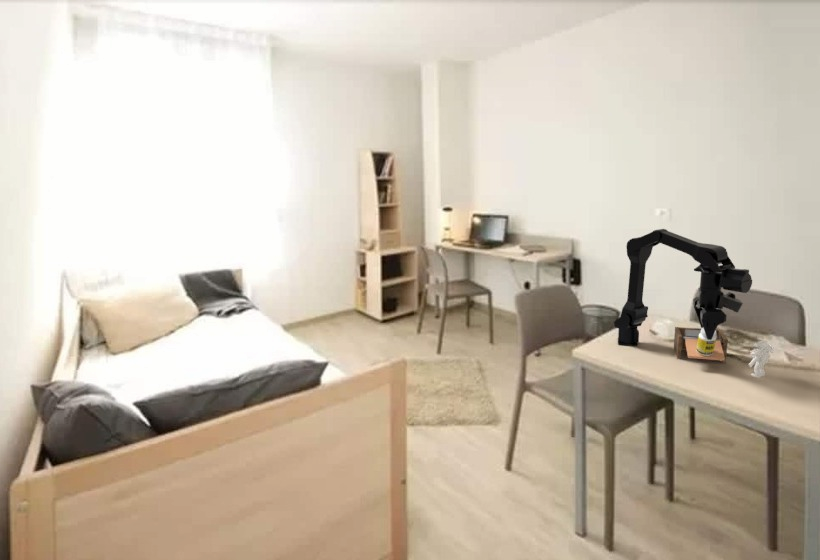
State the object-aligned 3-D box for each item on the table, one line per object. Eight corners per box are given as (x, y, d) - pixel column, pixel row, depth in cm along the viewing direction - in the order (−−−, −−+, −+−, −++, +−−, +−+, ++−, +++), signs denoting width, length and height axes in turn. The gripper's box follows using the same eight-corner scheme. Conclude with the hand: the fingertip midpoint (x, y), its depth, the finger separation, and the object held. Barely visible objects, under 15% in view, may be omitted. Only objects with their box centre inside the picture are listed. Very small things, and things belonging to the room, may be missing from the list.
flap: (685, 365, 157) (686, 355, 155) (680, 338, 168) (681, 328, 166) (724, 368, 153) (727, 358, 151) (717, 340, 164) (719, 331, 162)
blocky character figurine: (756, 381, 145) (761, 343, 142) (743, 376, 148) (746, 339, 145) (773, 374, 149) (778, 336, 146) (760, 369, 152) (764, 333, 149)
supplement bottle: (704, 358, 153) (708, 336, 149) (692, 350, 157) (695, 328, 153) (717, 353, 154) (721, 331, 149) (704, 345, 158) (708, 324, 154)
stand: (677, 358, 164) (678, 336, 162) (673, 348, 173) (675, 326, 171) (725, 362, 159) (727, 339, 157) (719, 351, 168) (721, 329, 166)
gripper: (749, 295, 139) (744, 347, 142) (734, 280, 156) (729, 327, 159) (704, 294, 143) (700, 344, 147) (694, 279, 160) (690, 324, 163)
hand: (706, 334), depth 154 cm, fingers open, 9 cm apart
